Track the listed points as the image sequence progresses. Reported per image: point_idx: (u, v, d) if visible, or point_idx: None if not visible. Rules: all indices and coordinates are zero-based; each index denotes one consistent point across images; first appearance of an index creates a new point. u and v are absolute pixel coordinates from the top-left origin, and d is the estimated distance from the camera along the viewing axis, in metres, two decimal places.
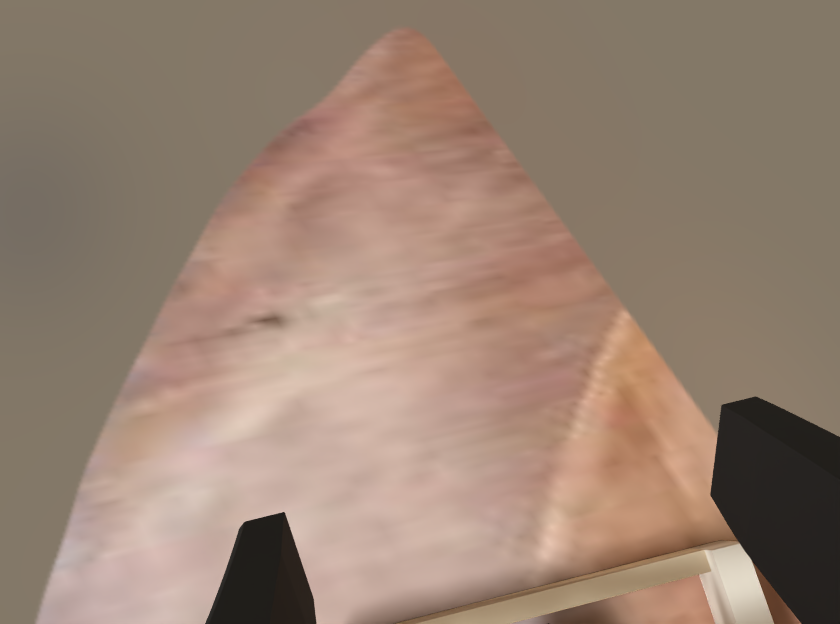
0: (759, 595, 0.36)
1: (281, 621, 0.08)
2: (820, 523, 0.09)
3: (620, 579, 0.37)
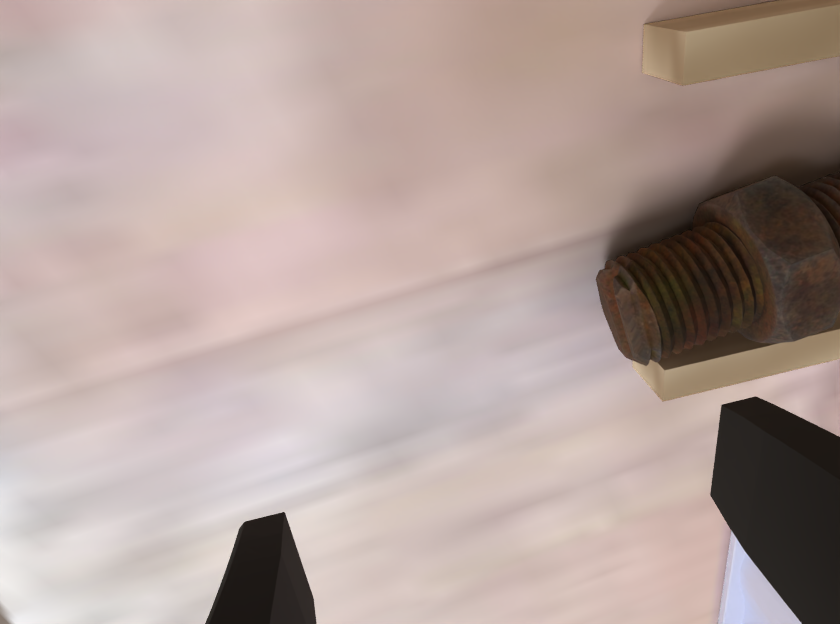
0: None
1: (281, 621, 0.08)
2: (820, 523, 0.09)
3: None
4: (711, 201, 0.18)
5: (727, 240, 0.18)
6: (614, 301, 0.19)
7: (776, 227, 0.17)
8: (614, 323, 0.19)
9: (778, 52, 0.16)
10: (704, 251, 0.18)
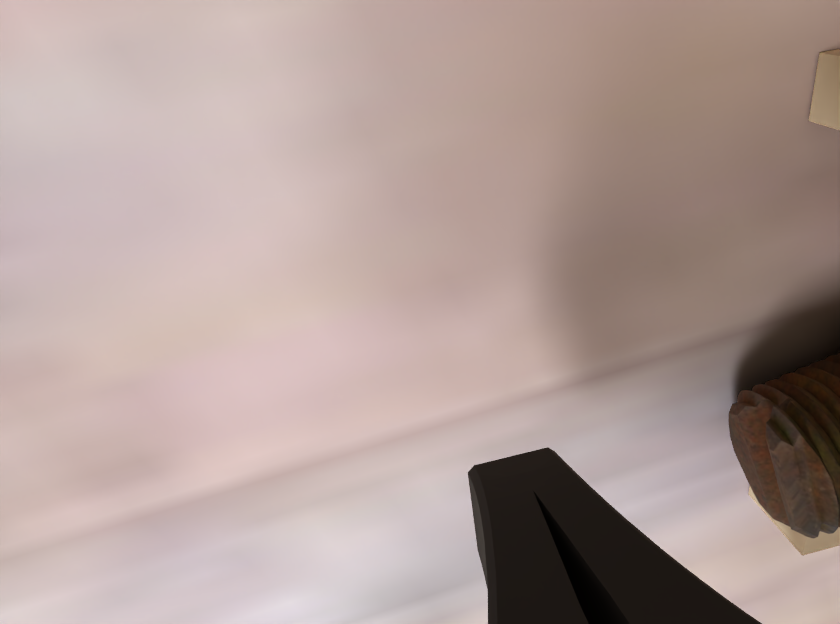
0: None
1: None
2: (573, 590, 0.08)
3: None
4: None
5: None
6: (759, 447, 0.14)
7: None
8: (757, 474, 0.14)
9: None
10: None
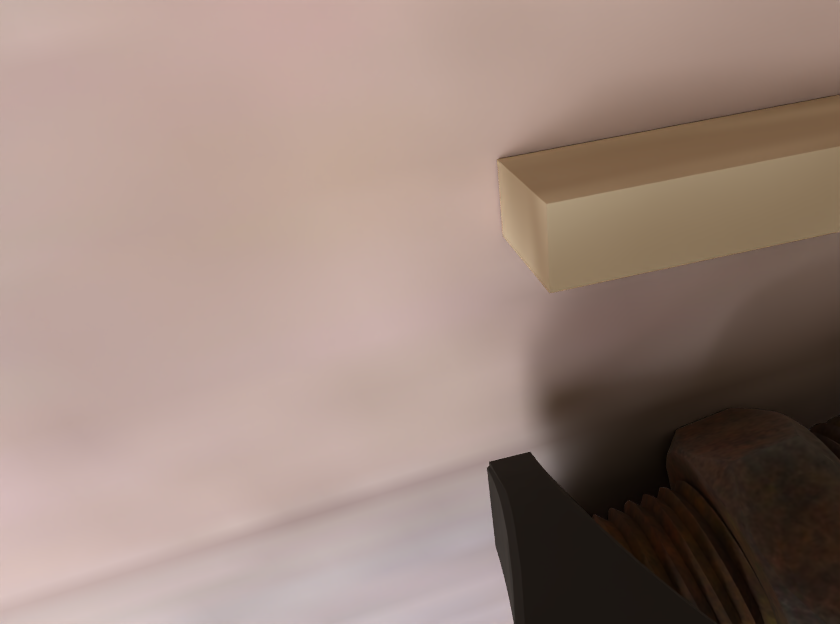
0: None
1: None
2: None
3: None
4: (691, 457, 0.11)
5: (719, 538, 0.10)
6: None
7: (803, 544, 0.09)
8: None
9: (731, 229, 0.08)
10: (680, 558, 0.10)
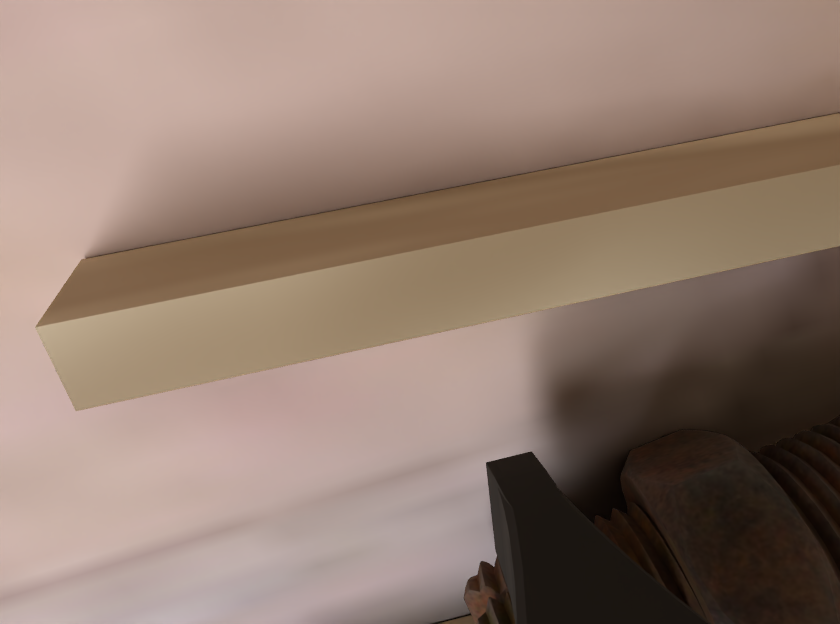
0: None
1: None
2: None
3: None
4: (638, 480, 0.11)
5: (663, 560, 0.11)
6: None
7: (740, 568, 0.10)
8: None
9: (269, 344, 0.08)
10: None
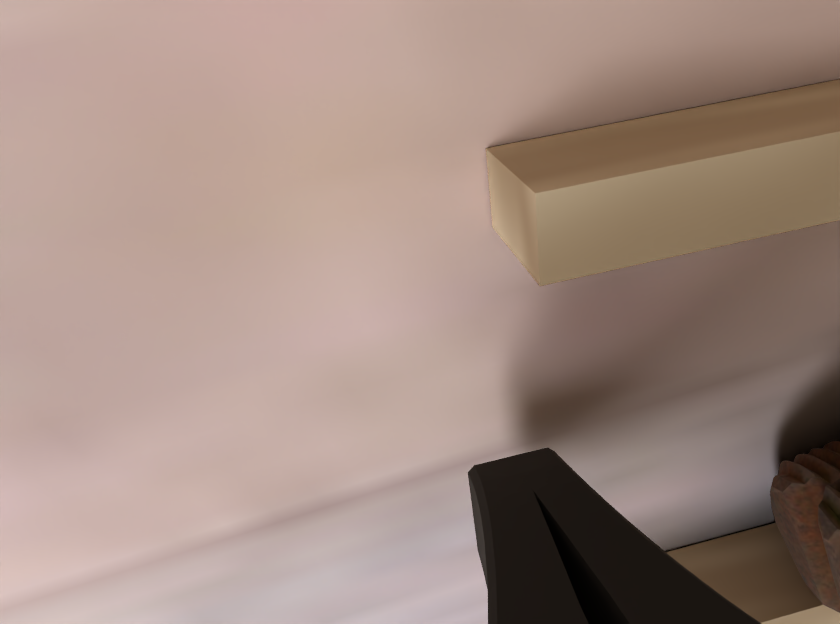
0: None
1: None
2: (573, 590, 0.08)
3: None
4: None
5: None
6: (808, 527, 0.12)
7: None
8: (806, 556, 0.12)
9: (727, 219, 0.08)
10: None
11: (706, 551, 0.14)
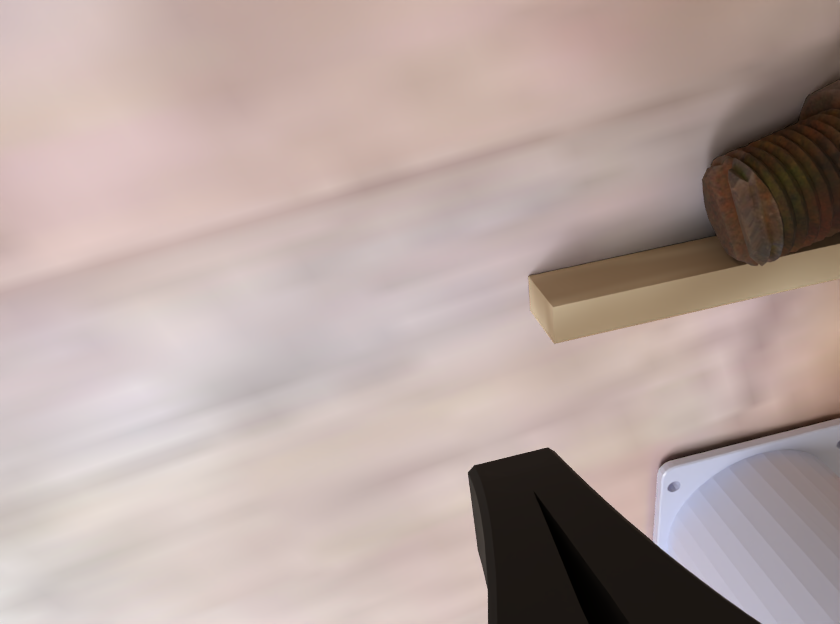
0: None
1: None
2: (573, 590, 0.08)
3: None
4: (827, 87, 0.17)
5: None
6: (725, 199, 0.18)
7: None
8: (725, 224, 0.18)
9: None
10: (826, 136, 0.17)
11: (658, 252, 0.20)
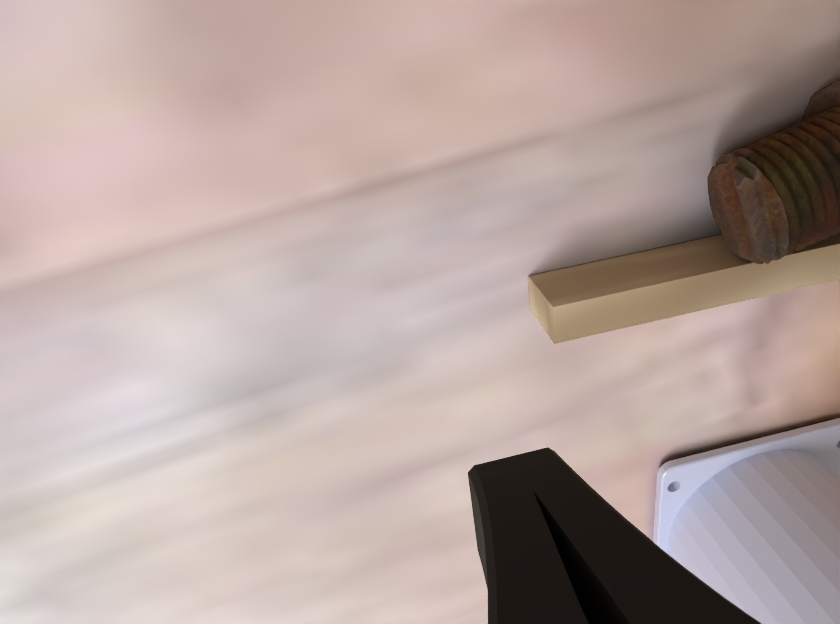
0: None
1: None
2: (573, 590, 0.08)
3: None
4: (832, 85, 0.17)
5: None
6: (730, 197, 0.18)
7: None
8: (730, 222, 0.18)
9: None
10: (831, 134, 0.17)
11: (658, 252, 0.20)
